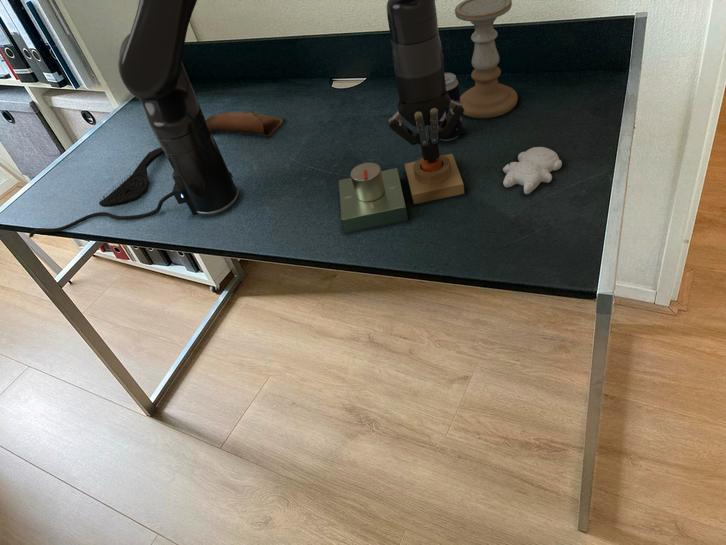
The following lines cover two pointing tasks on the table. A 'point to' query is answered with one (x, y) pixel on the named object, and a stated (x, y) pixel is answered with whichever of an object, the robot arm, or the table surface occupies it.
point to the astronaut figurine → (532, 168)
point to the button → (431, 165)
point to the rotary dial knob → (367, 182)
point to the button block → (434, 180)
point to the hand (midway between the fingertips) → (431, 159)
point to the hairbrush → (132, 183)
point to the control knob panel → (372, 204)
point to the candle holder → (485, 61)
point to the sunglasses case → (244, 123)
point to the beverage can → (454, 95)
